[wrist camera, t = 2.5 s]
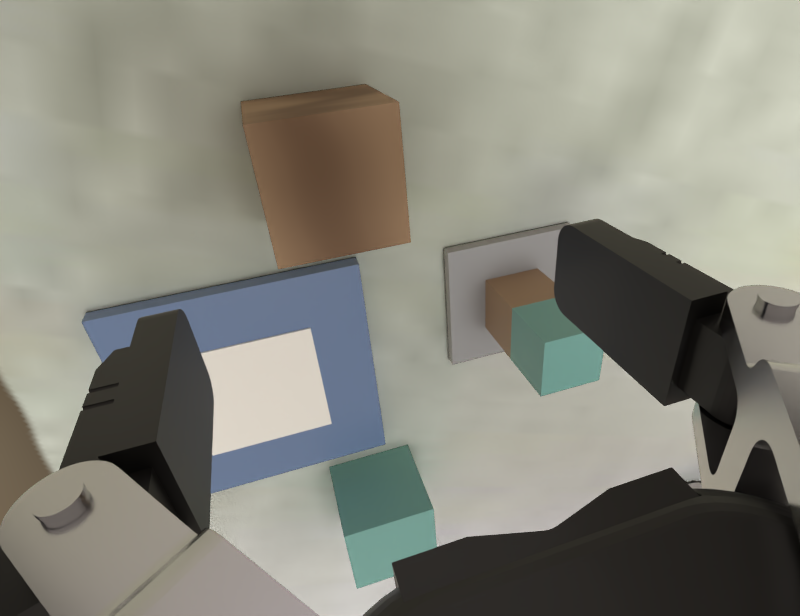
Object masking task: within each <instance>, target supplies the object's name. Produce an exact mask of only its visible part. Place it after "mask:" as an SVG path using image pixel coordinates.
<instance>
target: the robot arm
mask: <svg viewBox="0 0 800 616" xmlns="http://www.w3.org/2000/svg"><path fill="white" fill-rule="evenodd" d="M554 296H555V300H556V303H557V306H558V308H559V309H560V311H561V312H562V314H563V315H564V316H565V317H566V318H568V319H569V320H570V321H571V322H572V323H573V324H574V325H575V326H576V327H577V328H579V329H580V330H581V331H582V332H583V333H584V334H585V335H586V336H587V337H589V338H590V339H591V340H592V341H593V342H594V343H595V344H596V345H597V346H598V347H600V348H601V349H602V350H603V351H604V352H605V353H606V354H607V355H608V356H609V357H611V358H612V359H613V360H614V361H615V362H616V363H617V364H618V365H619V366H621V367H622V368H623V369H624V370H625V371H626V372H627V373H628V374H629V375H630V376H632V377H633V378H634V379H635V380H636V381H637V382H638V383H639V384H640V385H641V386H643V387H644V388H645V389H646V390H647V391H648V392H649V393H650V394H651V395H653V396H654V397H655V398H656V399H657V400H658V401H659V402H660V403H661V404H662V405H664V406H666V405H670V404H673V403H676V402H679V401H682V400H686V399H689V398H692V399H693V400H694V401H696V403H695V406H694V409H693V413H692V422H693V429H694V436H695V443H696V450H697V457H698V464H699V471H700V478H701V483H697V482H695V483H689V484H687V483H686V482H685V481H684V479H683V478H682V477H681V476H680V475H679V474H678V473H677V472H676V471H675V470H674V469H673V468H669V469H666V470H663V471H660V472H657V473H654V474H651V475H648V476H645V477H642V478H639V479H636V480H633V481H630V482H627V483H624V484H622V485H619V486H616V487H613V488H610V489H608V490H607V491H605V492H604V493H602V494H601V495H600V496H598V497H597V498H595V499H594V500H593V501H591V502H590V503H589V504H587V505H586V506H584V507H583V508H582V509H580V510H579V511H577V512H576V513H575V514H573V515H572V516H571V517H569V518H568V519H566V520H565V521H564V522H562V523H561V524H559V525H558V526H556V527H555V528H553V529H550V530H546V531H536V532H524V533H511V534H499V535H486V536H474V537H466V538H463V539H460V540H457V541H454V542H451V543H448V544H445V545H442V546H439V547H436V548H433V549H430V550H427V551H424V552H421V553H418V554H416V555H413V556H410V557H407V558H404V559H401V560H398V561H395V562H392V568H393V573H394V579H395V585H396V589H394V590H393V591H392V592H390V593H389V594H387V595H386V596H384V597H383V598H381V599H380V600H379V601H378V602H377V603H376V604H375V605H374V606H372V607H371V608H370V609H369V610H368V611H367V612H366V613H365V614H364V615H363V616H800V293H799V292H796V291H793V290H789V289H785V288H780V287H775V286H767V285H750V286H743V287H739V288H736V289H734V290H733V289H732V288H730V287H728V286H726V285H724V284H723V283H721V282H719V281H717V280H715V279H713V278H712V277H710V276H708V275H706V274H704V273H703V272H701V271H699V270H697V269H695V268H693V267H692V266H690V265H688V264H686V263H683V264H682V263H681V260H679V259H677V258H675V257H674V256H672V255H670V254H668V255H666V252H664V251H663V250H661V249H659V248H657V247H655V246H654V245H652V244H650V243H648V242H646V241H642V240H639V239H635V238H633V237H631V236H629V235H627V234H625V233H624V232H622V231H620V230H618V229H616V228H615V227H613V226H611V225H609V224H608V223H606V222H604V221H602V220H600V219H593V220H588V221H584V222H579V223H575V224H570V225H566V226H564V227H563V228H562V229H561V230H560V233H559V236H558V245H557V257H556V269H555V281H554ZM82 407H83V411H81V412H80V414H79V417H78V420H77V423H76V425H75V428H74V431H73V433H72V436H71V439H70V442H69V444H68V447H67V450H66V452H65V455H64V458H63V461H62V463H61V466H60V469H59V470H58V471H56V472H54V473H52V474H50V475H48V476H47V477H45V478H44V479H42V480H40V481H39V482H38V483H36V484H35V485H34V486H32V487H31V488H30V489H29V490H27V491H26V492H25V493H24V494H23V495H22V496H21V497H20V498H19V499H18V500H17V501H16V502H15V503H14V504H13V506H12V507H11V508H10V509H9V511H8V512H7V514H6V516H5V517H4V519H3V521H2V524H1V526H0V616H319V615H318V614H316V613H315V612H314V611H313V610H312V609H310V608H309V607H308V606H307V605H305V604H304V603H303V602H302V601H301V600H299V599H298V598H297V597H296V596H294V595H293V594H292V593H291V592H290V591H288V590H287V589H286V588H285V587H283V586H282V585H281V584H280V583H279V582H277V581H276V580H275V579H274V578H272V577H271V576H270V575H269V574H268V573H266V572H265V571H264V570H263V569H261V568H260V567H259V566H258V565H257V564H255V563H254V562H253V561H252V560H250V559H249V558H248V557H247V556H246V555H244V554H243V553H242V552H241V551H239V550H238V549H237V548H236V547H235V546H233V545H232V544H231V543H230V542H228V541H227V540H226V539H225V538H224V537H222V536H221V535H220V534H218V533H217V532H215V531H214V530H211V529H209V525H210V498H211V470H212V443H213V416H214V396H213V389H212V384H211V380H210V377H209V373H208V371H207V368H206V365H205V363H204V360H203V358H202V355H201V352H200V350H199V347H198V345H197V342H196V339H195V337H194V334H193V332H192V329H191V326H190V324H189V321H188V319H187V317H186V314H185V313H184V311H183V310H182V309H177V310H172V311H167V312H163V313H158V314H154V315H149V316H145V317H140V318H139V319H138V321H137V324H136V327H135V330H134V334H133V337H132V341H131V344H130V347H125V348H121V349H116V350H114V351H113V352H112V353H111V354H110V355H109V356H108V357H107V359H106V360H105V361H104V362H103V363H102V364H101V365H100V366H99V367H98V368H97V369H96V371H95V374H94V377H93V379H92V382H91V385H90V387H89V394H87V396H86V398H85V401H84V404H83V406H82Z"/></svg>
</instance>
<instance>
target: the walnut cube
mask: <svg viewBox="0 0 800 616" xmlns="http://www.w3.org/2000/svg"><path fill="white" fill-rule="evenodd" d="M241 109H242V121H243V128H244V132H245V136H246V140H247V144H248V148H249V152H250V156H251V160H252V164H253V168H254V173H255V177H256V181H257V185H258V189H259V193H260V197H261V201H262V205H263V209H264V213H265V217H266V221H267V225H268V229H269V234H270V238H271V242H272V246H273V250H274V254H275V258H276V262H277V266H278V269H282V268H287V267H292V266H297V265H302V264H307V263H312V262H316V261H321V260H326V259H331V258H336V257H341V256H346V255H351V254H356V253H361V252H365V251H370V250H375V249H380V248H385V247H390V246H395V245H400V244H405V243H410V242H411V239H410V227H409V215H408V203H407V192H406V180H405V168H404V156H403V144H402V132H401V121H400V109H399V102H398V101H396V100H394V99H393V98H391V97H389V96H387V95H385V94H383V93H381V92H379V91H378V90H376V89H374V88H372V87H370V86H368V85H366V84H363V85H356V86H348V87H341V88H334V89H327V90H320V91H312V92H305V93H298V94H291V95H283V96H276V97H269V98H262V99H255V100H247V101H241Z"/></svg>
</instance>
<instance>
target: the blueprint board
mask: <svg viewBox="0 0 800 616" xmlns="http://www.w3.org/2000/svg"><path fill="white" fill-rule="evenodd" d="M177 309H182V310H183V311H184V313H185V314H186V317H187V319H188V321H189V324H190V326H191V329H192V332H193V334H194V337H195V339H196V342H197V345H198V347H199V350H200V352H201V355H202V358H203V360H204V363H205V365H206V368H207V371H208V373H209V377H210V380H211V384H212V389H213V396H214V416H213V443H212V470H211V493H214V492H218V491H222V490H225V489H229V488H232V487H236V486H239V485H243V484H246V483H250V482H253V481H257V480H261V479H264V478H268V477H271V476H275V475H278V474H282V473H285V472H289V471H292V470H296V469H299V468H303V467H307V466H310V465H314V464H317V463H321V462H324V461H328V460H331V459H335V458H338V457H342V456H346V455H349V454H353V453H356V452H360V451H363V450H367V449H370V448H374V447H377V446H381V445H384V444H385V437H384V431H383V424H382V417H381V411H380V404H379V397H378V390H377V384H376V377H375V370H374V364H373V357H372V350H371V343H370V337H369V330H368V323H367V317H366V310H365V303H364V296H363V290H362V283H361V276H360V270H359V264H358V262H357V260H356V258H350V259H345V260H340V261H335V262H330V263H325V264H321V265H316V266H311V267H306V268H301V269H296V270H291V271H287V272H282V273H277V274H272V275H267V276H262V277H257V278H253V279H248V280H243V281H238V282H233V283H228V284H223V285H218V286H214V287H209V288H204V289H199V290H194V291H189V292H184V293H180V294H175V295H170V296H165V297H160V298H155V299H150V300H146V301H141V302H136V303H131V304H126V305H121V306H116V307H112V308H107V309H102V310H97V311H92V312H87V313H86V314H85V316H84V318H83V320H82V324H83V326H84V328H85V330H86V332H87V334H88V336H89V338H90V340H91V341H92V343H93V345H94V347H95V349H96V351H97V353H98V355H99V357H100V359H101V361H102V363H103V362H104V361H105V360H106V359H107V357H108V356H109V355H110V354H111V353H112V352H113V351H114V350H116V349H121V348H125V347H130V344H131V341H132V337H133V334H134V330H135V327H136V324H137V321H138V319H139V318H140V317H145V316H149V315H154V314H158V313H163V312H167V311H172V310H177Z"/></svg>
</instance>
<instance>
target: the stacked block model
mask: <svg viewBox="0 0 800 616" xmlns="http://www.w3.org/2000/svg"><path fill="white" fill-rule="evenodd" d="M566 225H570V223H568V222H567V223H562V224H558V225H553V226H548V227H543V228H539V229H534V230H529V231H524V232H519V233H515V234H510V235H505V236H500V237H496V238H491V239H486V240H481V241H476V242H472V243H467V244H462V245H457V246H453V247H448V248H444V264H445V285H446V306H447V328H448V349H449V359H450V361H451V363H452V364H457V363H461V362H465V361H468V360H472V359H476V358H480V357H484V356H488V355H492V354H496V353H500V352H503V351H505V352H506V354H507V355H508V356H509V357H510V359H511V360H512V361H513V362H514V364H515V365H516V366H517V367H518V369H519V370H520V371H521V372H522V374H523V375H524V376H525V377H526V379H527V380H528V381H529V382H530V384H531V385H532V386H533V387H534V389H535V390H536V391H537V392H538V394H539V395H540V396H544V395H547V394H551V393H555V392H558V391H562V390H565V389H569V388H572V387H576V386H579V385H583V384H587V383H590V382H594V381H597V380H599V377H600V370H601V364H602V358H603V352H604V351H603V350H602V349H601V348H600V347H598V346H597V345H596V344H595V343H594V342H593V341H592V340H591V339H590V338H589V337H587V336H586V335H585V334H584V333H583V332H582V331H581V330H580V329H579V328H577V327H576V326H575V325H574V324H573V323H572V322H571V321H570V320H569V319H568V318H566V317H565V316H564V315H563V314H562V312H561V311H560V309H559V308H558V306H557V303H556V300H555V296H554V281H555V269H556V257H557V245H558V236H559V233H560V230H561V229H562V228H563V227H564V226H566Z"/></svg>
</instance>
